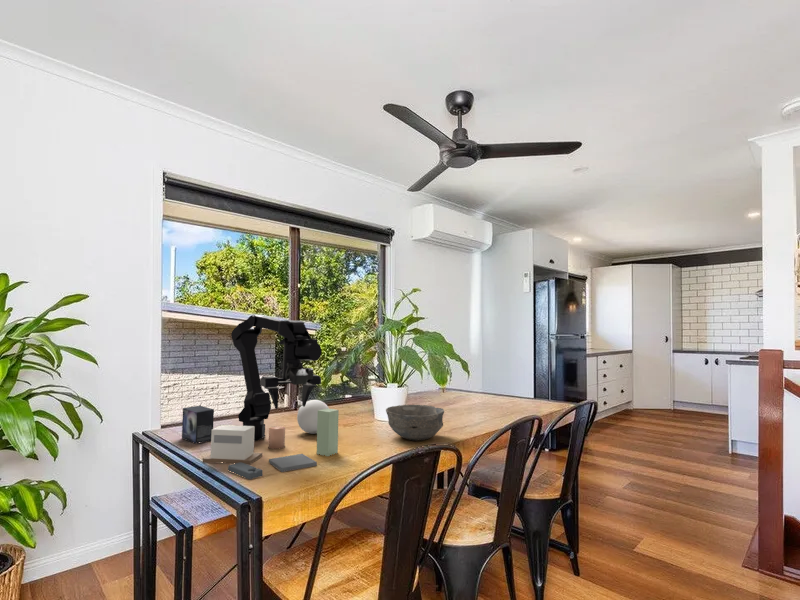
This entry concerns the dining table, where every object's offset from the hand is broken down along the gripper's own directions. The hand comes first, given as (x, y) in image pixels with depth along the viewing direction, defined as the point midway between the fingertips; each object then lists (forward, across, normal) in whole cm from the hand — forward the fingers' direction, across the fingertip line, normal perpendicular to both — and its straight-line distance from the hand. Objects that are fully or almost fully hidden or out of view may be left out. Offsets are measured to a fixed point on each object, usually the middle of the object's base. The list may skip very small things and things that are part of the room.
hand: (290, 407), depth 142 cm
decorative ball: (+13, +14, +13) cm, 23 cm away
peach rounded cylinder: (+12, -3, +2) cm, 13 cm away
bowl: (+12, +42, -12) cm, 45 cm away
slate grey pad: (+12, -6, -18) cm, 23 cm away
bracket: (+13, -19, -19) cm, 30 cm away
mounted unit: (+12, -18, -5) cm, 23 cm away
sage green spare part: (+12, +7, -14) cm, 20 cm away
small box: (+13, -22, +25) cm, 36 cm away
